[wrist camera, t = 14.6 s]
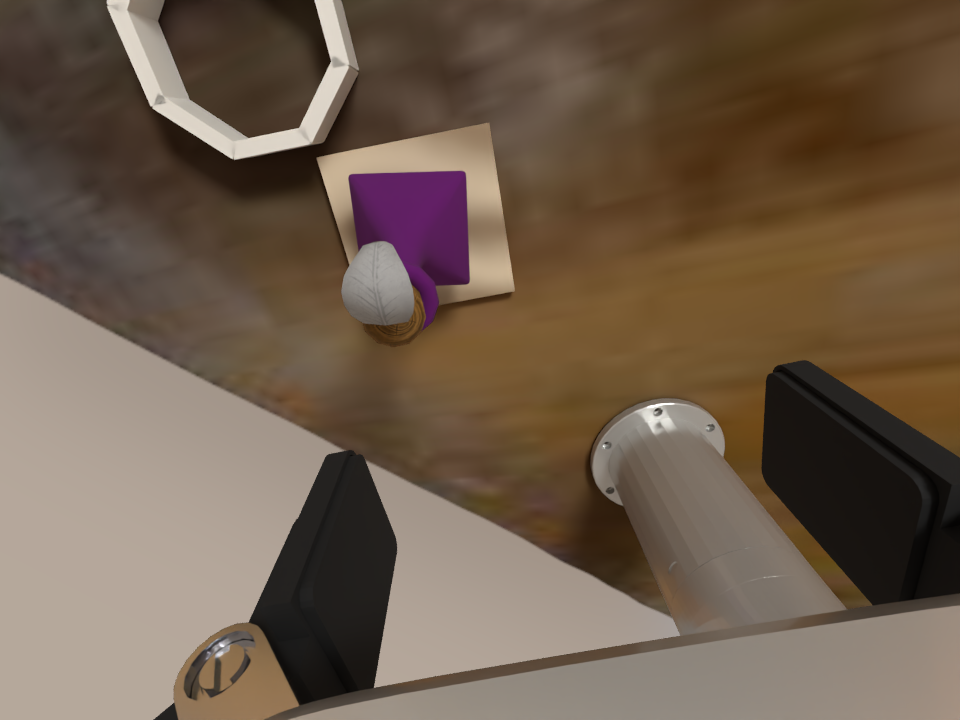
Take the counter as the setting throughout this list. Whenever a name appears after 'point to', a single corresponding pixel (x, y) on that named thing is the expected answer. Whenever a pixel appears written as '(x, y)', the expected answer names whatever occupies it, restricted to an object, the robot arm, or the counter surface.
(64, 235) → the counter surface
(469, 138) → the coaster board
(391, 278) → the perfume bottle
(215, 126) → the holder ring
